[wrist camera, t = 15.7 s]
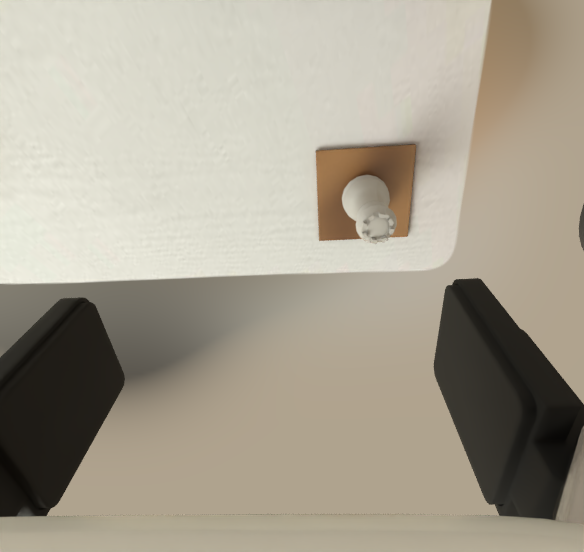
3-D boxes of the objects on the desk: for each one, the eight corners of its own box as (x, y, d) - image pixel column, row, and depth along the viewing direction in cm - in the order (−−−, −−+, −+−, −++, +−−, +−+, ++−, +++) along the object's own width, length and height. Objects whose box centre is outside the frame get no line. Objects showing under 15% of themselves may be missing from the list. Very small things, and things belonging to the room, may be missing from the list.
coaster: (415, 144, 34) (416, 144, 33) (406, 235, 38) (407, 236, 38) (315, 150, 34) (316, 151, 34) (319, 239, 39) (319, 240, 38)
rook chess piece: (354, 165, 34) (366, 192, 28) (396, 184, 35) (418, 214, 28) (333, 208, 37) (339, 242, 30) (374, 224, 37) (389, 262, 30)
